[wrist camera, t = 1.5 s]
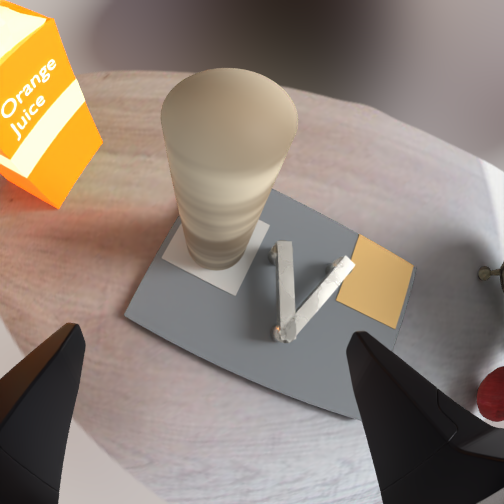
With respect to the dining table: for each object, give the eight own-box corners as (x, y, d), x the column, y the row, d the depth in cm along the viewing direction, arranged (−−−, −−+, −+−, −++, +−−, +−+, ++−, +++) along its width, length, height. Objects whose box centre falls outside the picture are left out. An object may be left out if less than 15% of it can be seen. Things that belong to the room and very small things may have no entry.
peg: (230, 281, 22) (264, 192, 8) (175, 253, 22) (133, 133, 8) (256, 229, 23) (315, 98, 9) (204, 203, 23) (205, 55, 9)
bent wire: (308, 355, 21) (320, 358, 19) (235, 322, 21) (238, 321, 19) (344, 267, 23) (358, 260, 21) (277, 233, 23) (285, 222, 21)
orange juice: (47, 121, 24) (-22, -25, 5) (104, 141, 24) (38, -50, 5) (5, 181, 22) (-103, 53, 3) (58, 211, 22) (-81, 45, 3)
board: (357, 418, 21) (363, 421, 20) (127, 316, 21) (123, 315, 20) (410, 270, 25) (417, 267, 24) (212, 167, 25) (213, 160, 24)
